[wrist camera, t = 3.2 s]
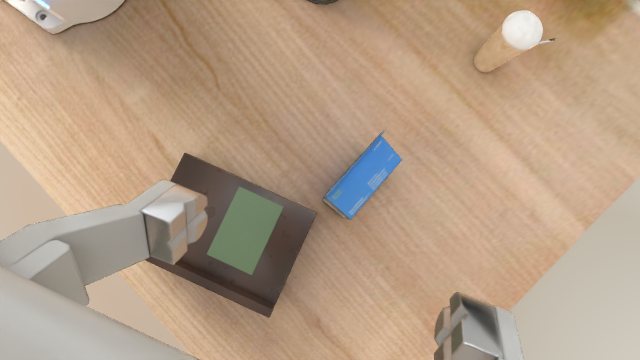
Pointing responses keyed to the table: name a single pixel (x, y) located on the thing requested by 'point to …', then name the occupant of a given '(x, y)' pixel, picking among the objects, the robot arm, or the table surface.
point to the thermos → (322, 1)
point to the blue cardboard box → (362, 178)
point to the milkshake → (510, 40)
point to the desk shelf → (240, 237)
